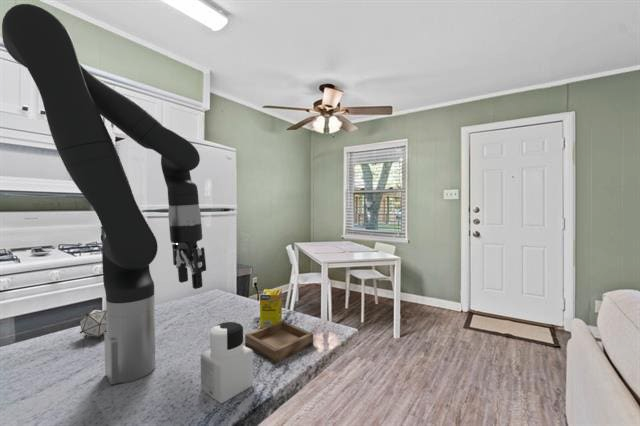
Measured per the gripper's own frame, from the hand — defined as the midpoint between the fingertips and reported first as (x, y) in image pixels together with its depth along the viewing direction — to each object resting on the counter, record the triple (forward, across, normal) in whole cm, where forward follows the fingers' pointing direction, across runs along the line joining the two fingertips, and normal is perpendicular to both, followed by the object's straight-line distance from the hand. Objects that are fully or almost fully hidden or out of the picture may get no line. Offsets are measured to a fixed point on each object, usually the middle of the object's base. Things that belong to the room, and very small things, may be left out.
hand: (190, 284), depth 76 cm
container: (+18, +21, -3) cm, 27 cm away
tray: (+18, +15, +16) cm, 29 cm away
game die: (+16, -28, -16) cm, 36 cm away
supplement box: (+19, +3, +22) cm, 30 cm away
